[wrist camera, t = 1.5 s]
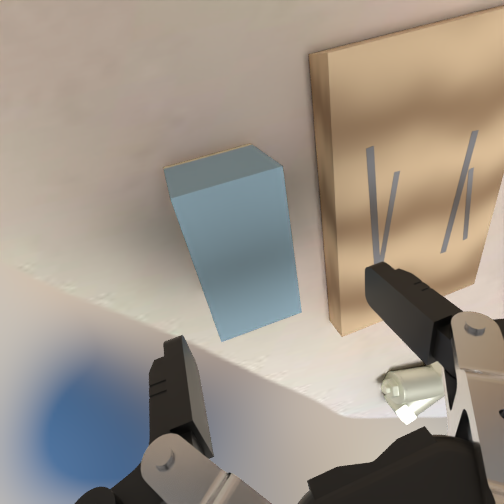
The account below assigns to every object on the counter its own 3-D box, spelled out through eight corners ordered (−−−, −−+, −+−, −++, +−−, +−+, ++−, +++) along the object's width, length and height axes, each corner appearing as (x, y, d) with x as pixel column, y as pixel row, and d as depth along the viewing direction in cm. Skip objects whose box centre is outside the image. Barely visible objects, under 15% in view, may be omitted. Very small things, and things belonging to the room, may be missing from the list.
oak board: (308, 54, 16) (327, 53, 14) (513, 2, 18) (551, -4, 16) (329, 320, 27) (342, 337, 25) (455, 271, 29) (474, 283, 27)
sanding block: (163, 166, 17) (170, 198, 13) (249, 142, 18) (282, 166, 14) (206, 290, 22) (221, 342, 18) (272, 267, 23) (301, 312, 18)
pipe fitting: (366, 378, 35) (390, 400, 38) (387, 408, 32) (411, 430, 35) (424, 334, 34) (443, 361, 37) (452, 361, 31) (471, 388, 34)
